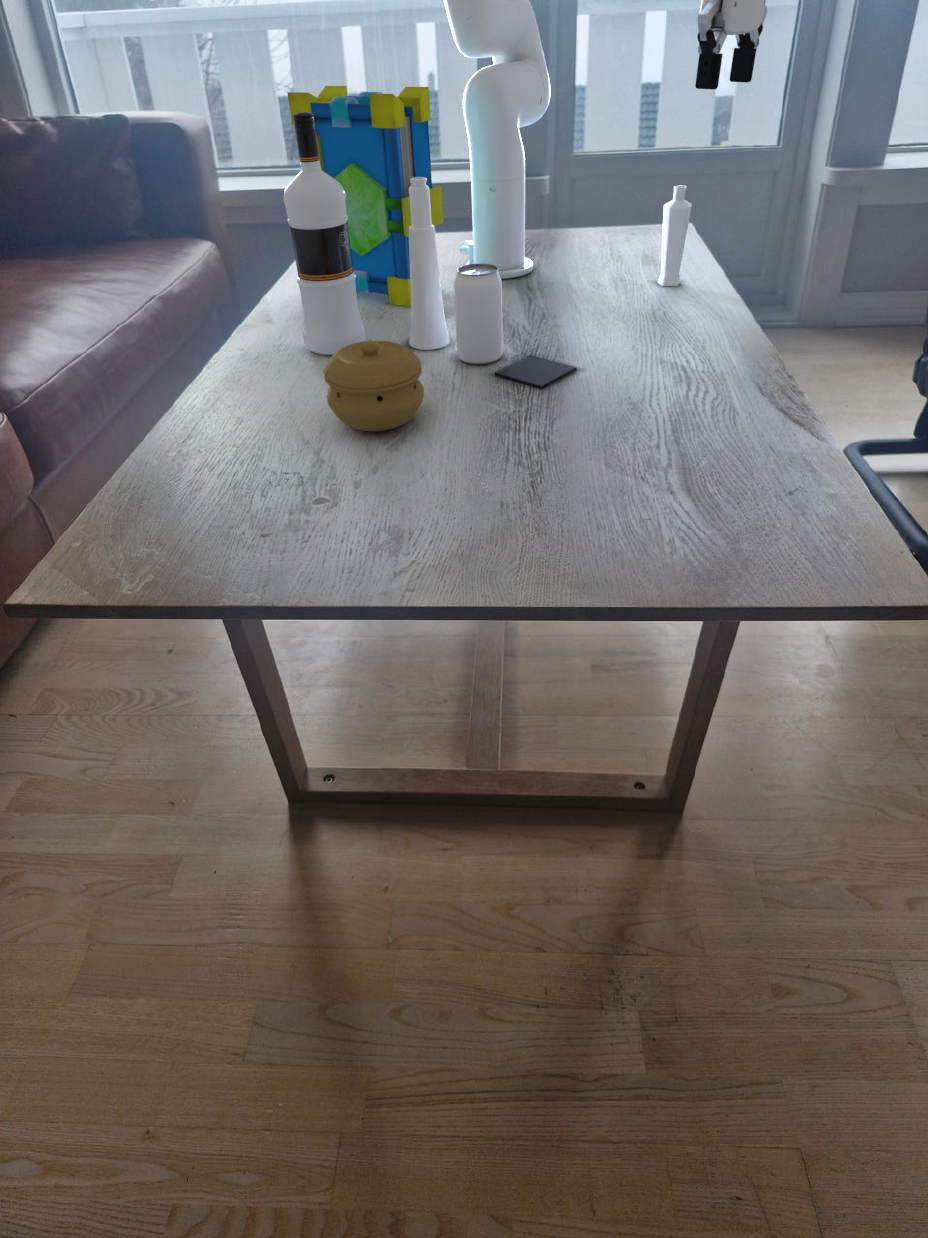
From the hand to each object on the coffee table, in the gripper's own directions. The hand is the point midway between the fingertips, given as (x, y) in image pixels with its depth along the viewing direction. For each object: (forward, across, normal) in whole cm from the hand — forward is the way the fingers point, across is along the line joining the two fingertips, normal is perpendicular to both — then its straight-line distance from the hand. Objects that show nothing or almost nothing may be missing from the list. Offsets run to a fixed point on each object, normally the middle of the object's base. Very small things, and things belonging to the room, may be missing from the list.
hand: (723, 84), depth 113 cm
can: (+30, +41, -11) cm, 52 cm away
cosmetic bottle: (+30, +41, -21) cm, 55 cm away
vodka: (+30, +50, -31) cm, 66 cm away
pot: (+30, +65, -6) cm, 72 cm away
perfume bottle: (+30, -5, -8) cm, 31 cm away
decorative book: (+30, +28, -47) cm, 62 cm away
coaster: (+29, +41, -1) cm, 50 cm away
